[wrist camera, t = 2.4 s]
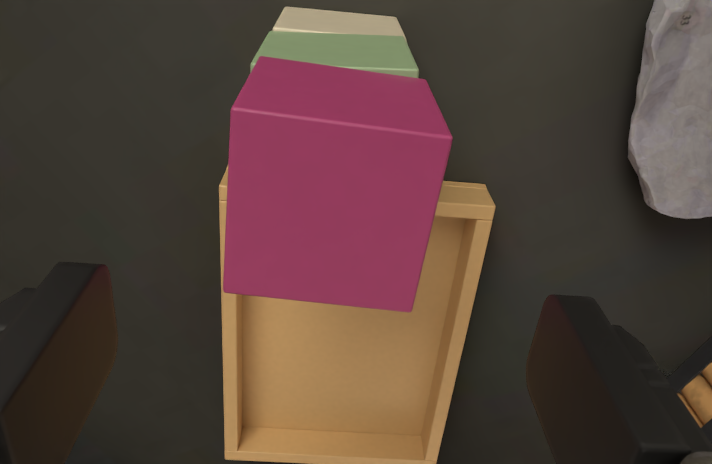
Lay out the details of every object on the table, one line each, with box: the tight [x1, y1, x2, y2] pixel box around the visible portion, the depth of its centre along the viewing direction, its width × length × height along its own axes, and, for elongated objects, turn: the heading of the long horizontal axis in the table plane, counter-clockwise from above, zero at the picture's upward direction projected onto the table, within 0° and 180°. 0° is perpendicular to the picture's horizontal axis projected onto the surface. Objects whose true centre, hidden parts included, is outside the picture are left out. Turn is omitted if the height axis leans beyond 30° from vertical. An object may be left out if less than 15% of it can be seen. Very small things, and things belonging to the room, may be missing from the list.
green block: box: [250, 31, 419, 78], centre depth 21 cm, size 5×5×5 cm
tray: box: [219, 166, 496, 464], centre depth 33 cm, size 19×13×3 cm
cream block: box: [273, 7, 407, 42], centre depth 25 cm, size 5×5×5 cm
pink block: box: [223, 56, 453, 313], centre depth 16 cm, size 5×5×5 cm
